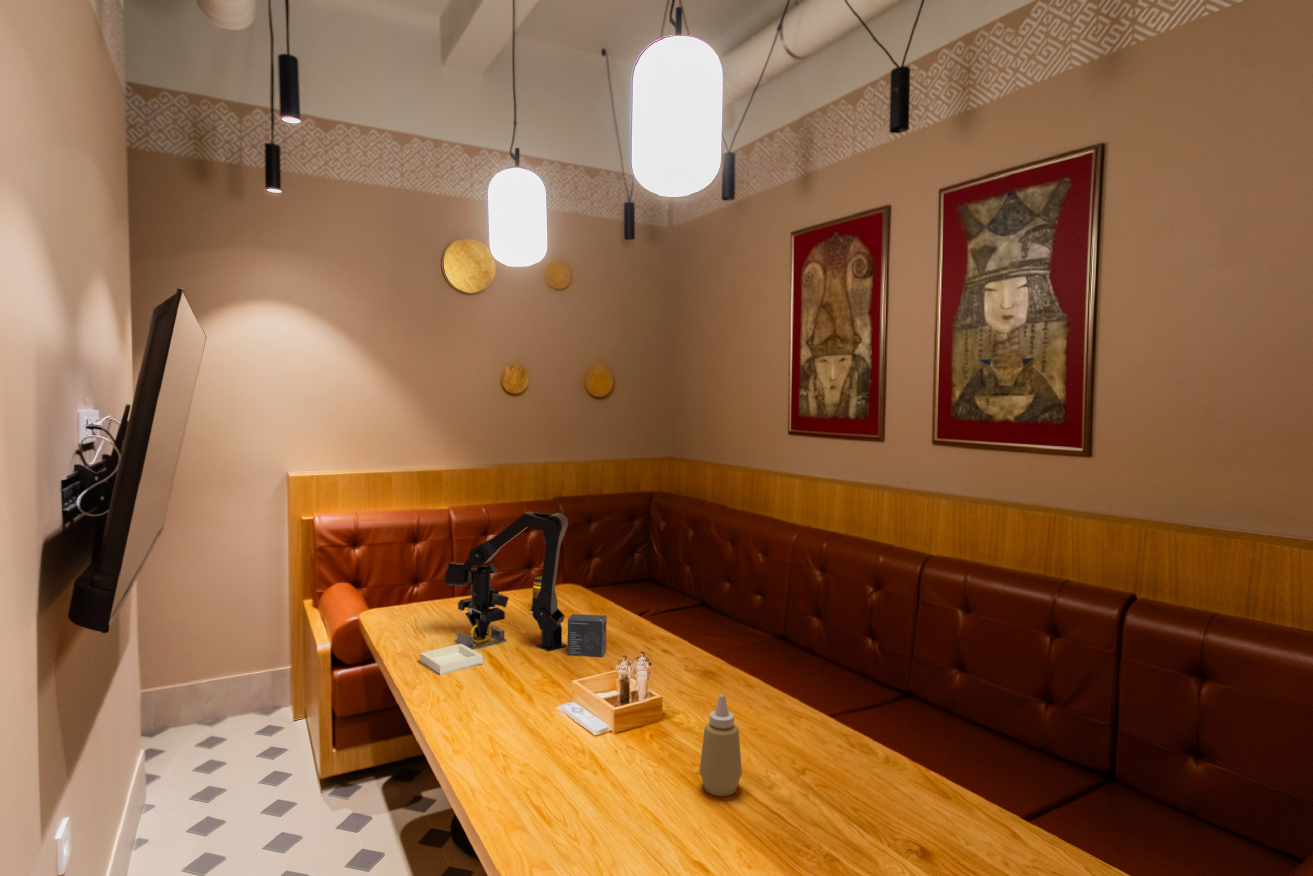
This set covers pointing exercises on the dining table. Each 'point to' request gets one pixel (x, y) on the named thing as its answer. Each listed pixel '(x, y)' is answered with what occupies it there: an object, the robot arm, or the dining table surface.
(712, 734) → the squeeze bottle
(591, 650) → the box
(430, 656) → the parts tray
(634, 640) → the dining table surface
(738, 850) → the dining table surface
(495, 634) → the grey rectangular open frame
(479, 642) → the watch
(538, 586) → the condiment
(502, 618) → the robot arm
